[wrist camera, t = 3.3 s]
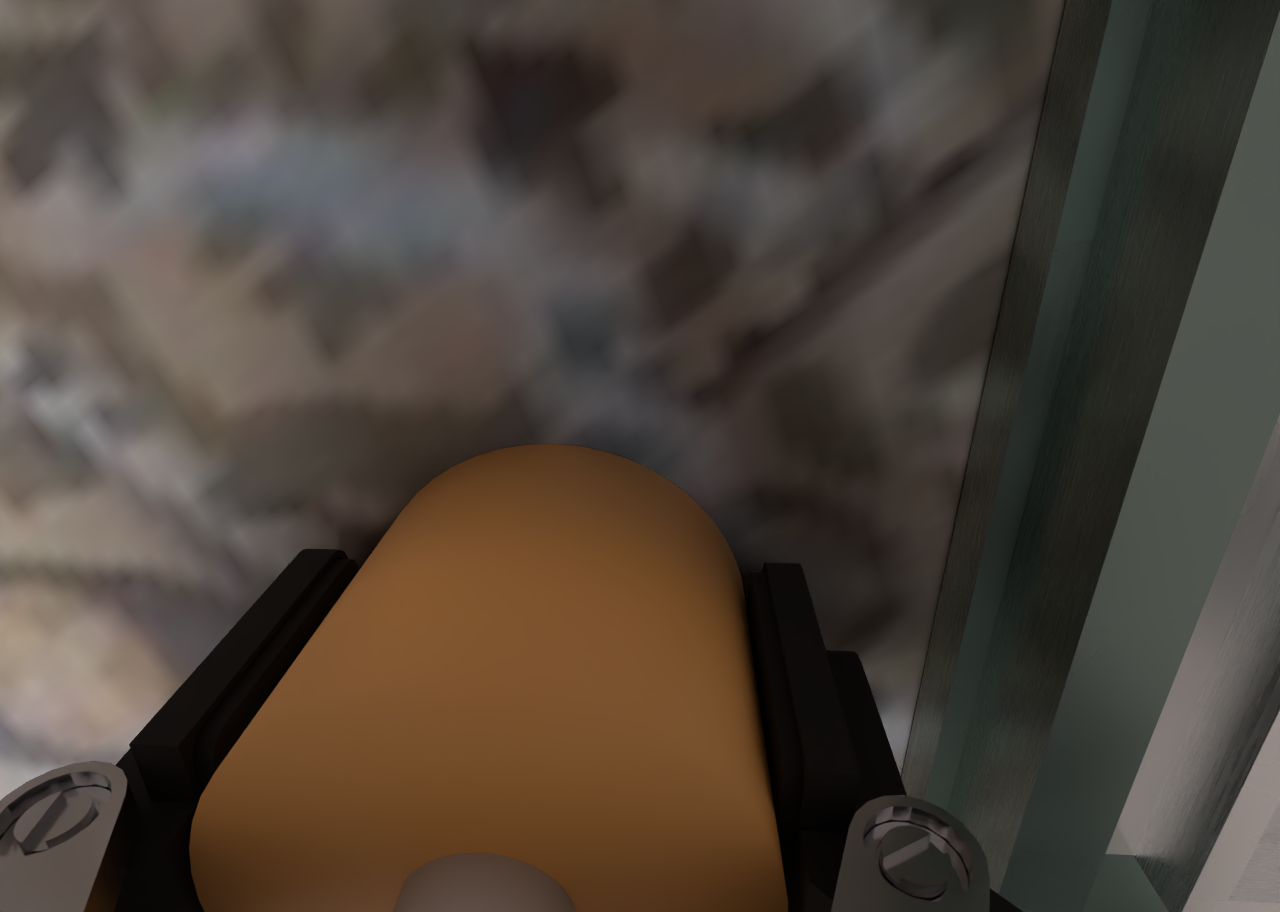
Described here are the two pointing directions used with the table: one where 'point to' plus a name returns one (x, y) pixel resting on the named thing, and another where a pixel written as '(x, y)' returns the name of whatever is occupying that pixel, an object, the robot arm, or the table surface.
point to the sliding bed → (1220, 735)
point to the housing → (512, 715)
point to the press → (1108, 438)
